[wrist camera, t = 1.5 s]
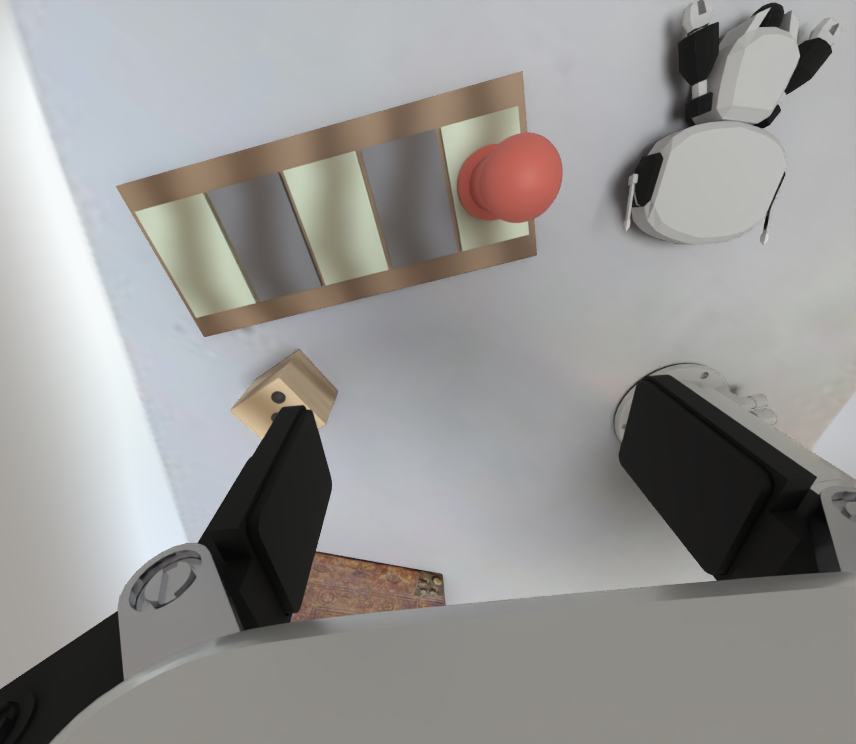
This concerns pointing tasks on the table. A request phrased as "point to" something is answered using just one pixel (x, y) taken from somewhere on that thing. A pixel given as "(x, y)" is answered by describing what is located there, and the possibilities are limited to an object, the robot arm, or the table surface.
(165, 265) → the board
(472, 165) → the pawn
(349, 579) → the book
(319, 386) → the die
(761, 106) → the robot toy
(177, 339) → the table surface
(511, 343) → the table surface
